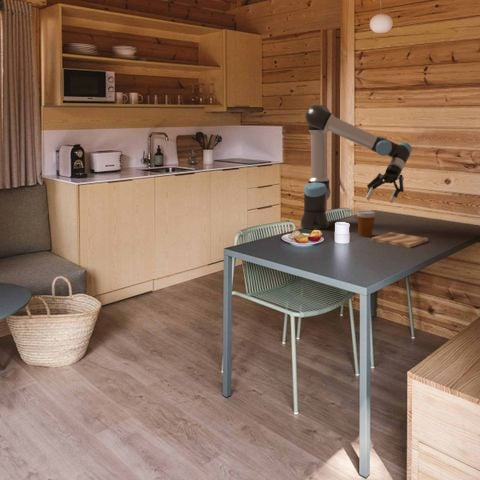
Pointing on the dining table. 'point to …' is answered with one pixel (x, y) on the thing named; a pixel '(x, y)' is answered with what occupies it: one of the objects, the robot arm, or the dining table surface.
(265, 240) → the dining table surface
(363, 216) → the disposable coffee cup
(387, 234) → the oak board
